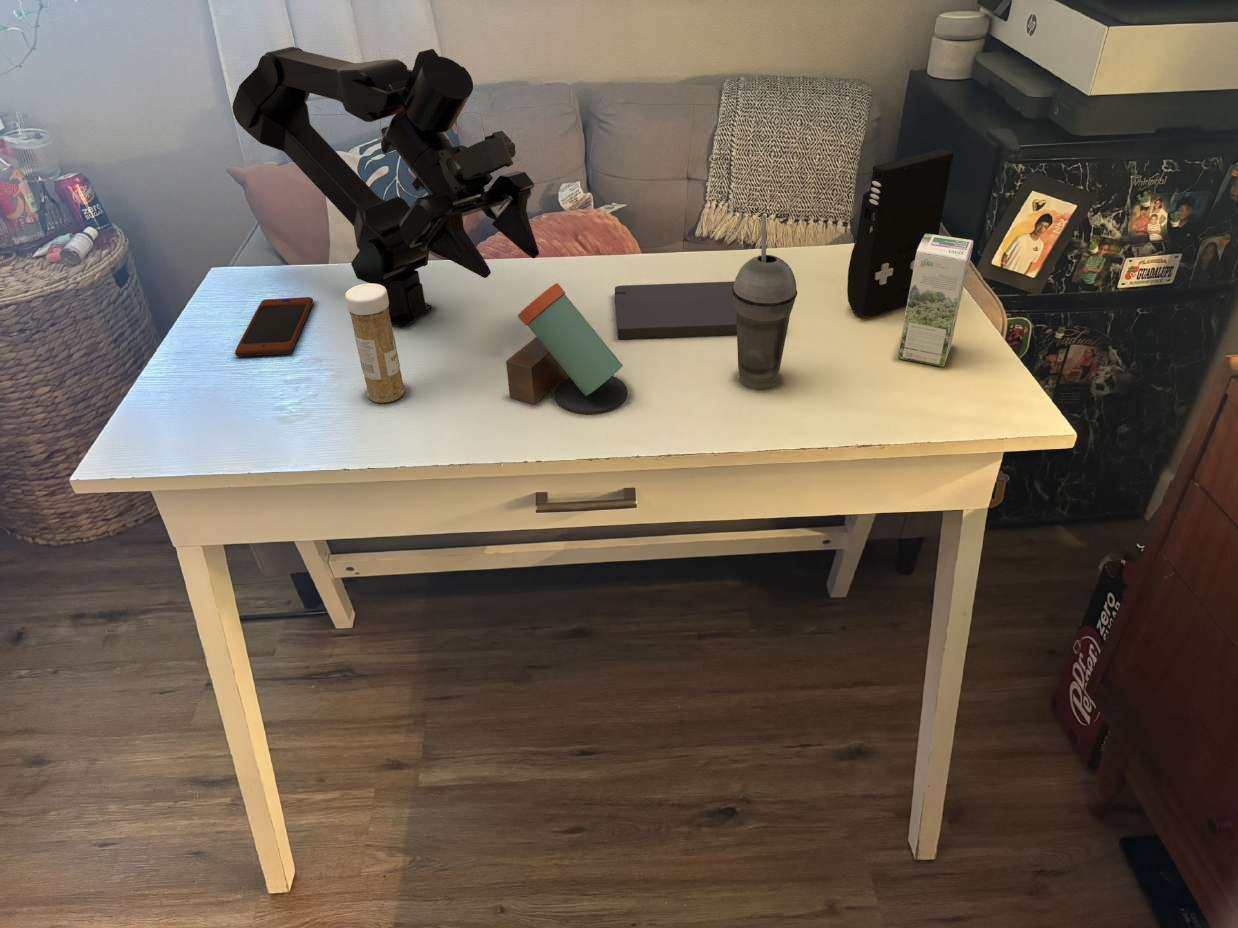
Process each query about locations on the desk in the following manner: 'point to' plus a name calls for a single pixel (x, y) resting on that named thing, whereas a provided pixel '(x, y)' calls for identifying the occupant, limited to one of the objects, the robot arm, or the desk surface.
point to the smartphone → (274, 327)
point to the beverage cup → (762, 315)
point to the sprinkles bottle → (375, 341)
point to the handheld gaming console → (895, 229)
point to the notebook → (675, 310)
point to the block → (533, 373)
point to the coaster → (591, 396)
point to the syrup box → (934, 298)
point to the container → (570, 339)
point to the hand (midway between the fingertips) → (513, 265)
